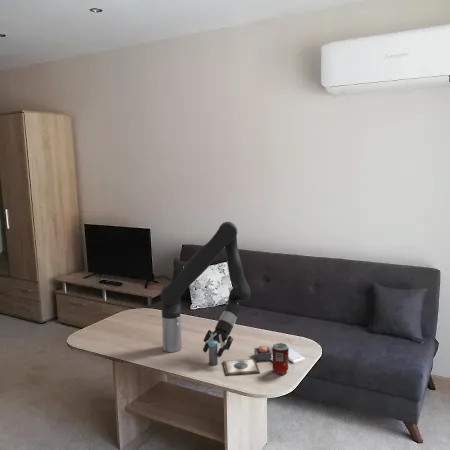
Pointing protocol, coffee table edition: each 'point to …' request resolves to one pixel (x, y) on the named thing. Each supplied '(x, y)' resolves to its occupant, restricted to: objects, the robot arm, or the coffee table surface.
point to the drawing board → (240, 367)
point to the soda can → (280, 358)
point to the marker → (213, 352)
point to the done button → (262, 349)
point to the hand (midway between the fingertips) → (211, 354)
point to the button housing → (262, 355)
